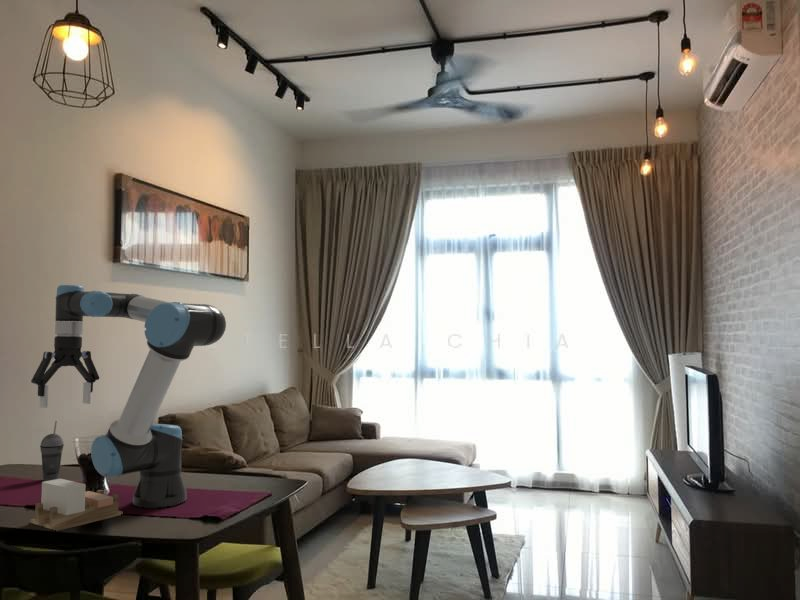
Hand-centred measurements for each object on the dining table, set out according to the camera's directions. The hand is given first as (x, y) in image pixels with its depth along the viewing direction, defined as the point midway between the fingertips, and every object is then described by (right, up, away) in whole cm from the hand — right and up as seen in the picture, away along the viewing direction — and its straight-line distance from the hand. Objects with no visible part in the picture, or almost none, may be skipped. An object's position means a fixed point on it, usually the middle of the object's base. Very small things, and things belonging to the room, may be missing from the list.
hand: (65, 405), depth 196 cm
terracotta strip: (+17, -24, -17) cm, 34 cm away
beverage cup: (-18, -30, +25) cm, 43 cm away
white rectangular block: (+12, -24, -25) cm, 36 cm away
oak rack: (+14, -27, -21) cm, 37 cm away
